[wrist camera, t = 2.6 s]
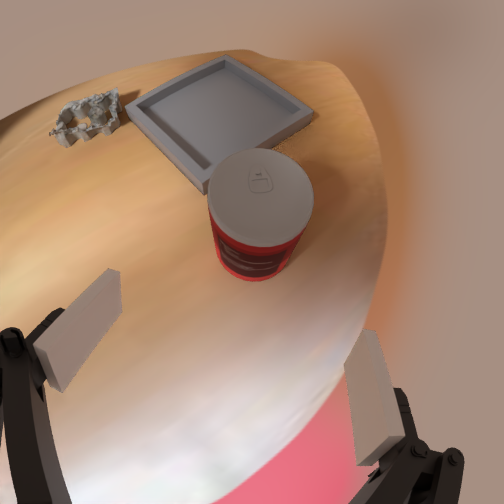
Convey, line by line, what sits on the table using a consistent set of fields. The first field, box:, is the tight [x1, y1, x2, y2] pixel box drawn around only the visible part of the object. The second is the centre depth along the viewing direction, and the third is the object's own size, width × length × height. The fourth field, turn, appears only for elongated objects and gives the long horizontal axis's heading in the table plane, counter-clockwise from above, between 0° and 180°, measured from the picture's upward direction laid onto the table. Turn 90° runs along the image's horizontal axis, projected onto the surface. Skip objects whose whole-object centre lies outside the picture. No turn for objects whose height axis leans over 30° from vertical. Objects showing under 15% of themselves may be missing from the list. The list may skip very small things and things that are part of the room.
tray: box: [125, 55, 314, 195], centre depth 35 cm, size 18×18×2 cm
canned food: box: [208, 148, 314, 281], centre depth 25 cm, size 8×8×11 cm
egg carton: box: [49, 88, 122, 148], centre depth 34 cm, size 11×8×4 cm
